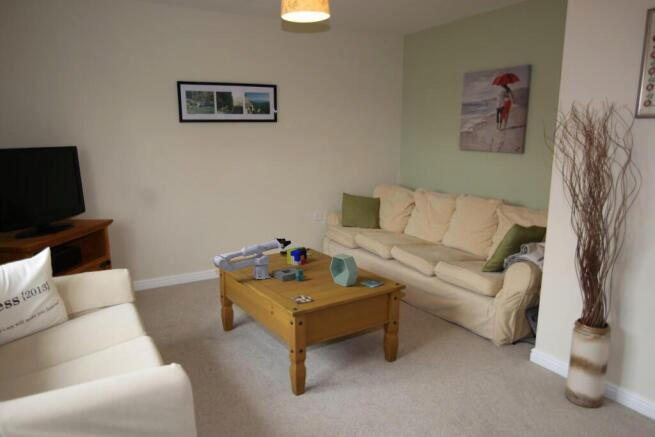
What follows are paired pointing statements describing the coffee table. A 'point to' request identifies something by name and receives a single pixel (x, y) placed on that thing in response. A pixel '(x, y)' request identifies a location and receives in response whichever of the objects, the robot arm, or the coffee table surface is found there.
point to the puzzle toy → (297, 256)
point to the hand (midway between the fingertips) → (288, 241)
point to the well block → (285, 274)
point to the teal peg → (299, 275)
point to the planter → (344, 269)
